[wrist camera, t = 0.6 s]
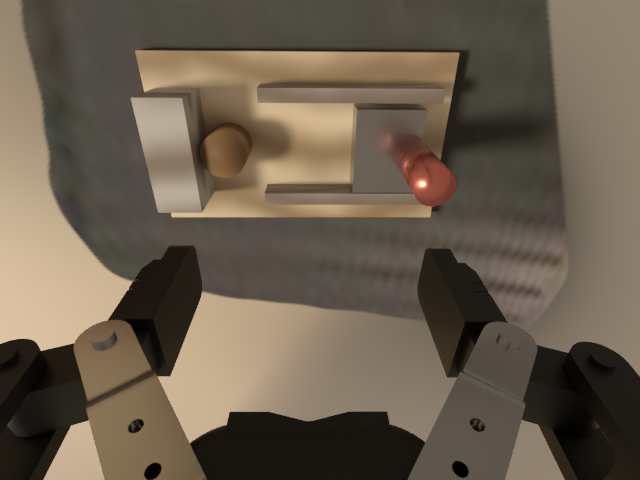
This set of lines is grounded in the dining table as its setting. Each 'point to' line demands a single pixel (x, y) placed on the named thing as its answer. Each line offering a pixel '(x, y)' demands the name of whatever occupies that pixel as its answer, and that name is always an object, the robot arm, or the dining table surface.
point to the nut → (226, 150)
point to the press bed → (280, 126)
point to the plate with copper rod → (396, 154)
